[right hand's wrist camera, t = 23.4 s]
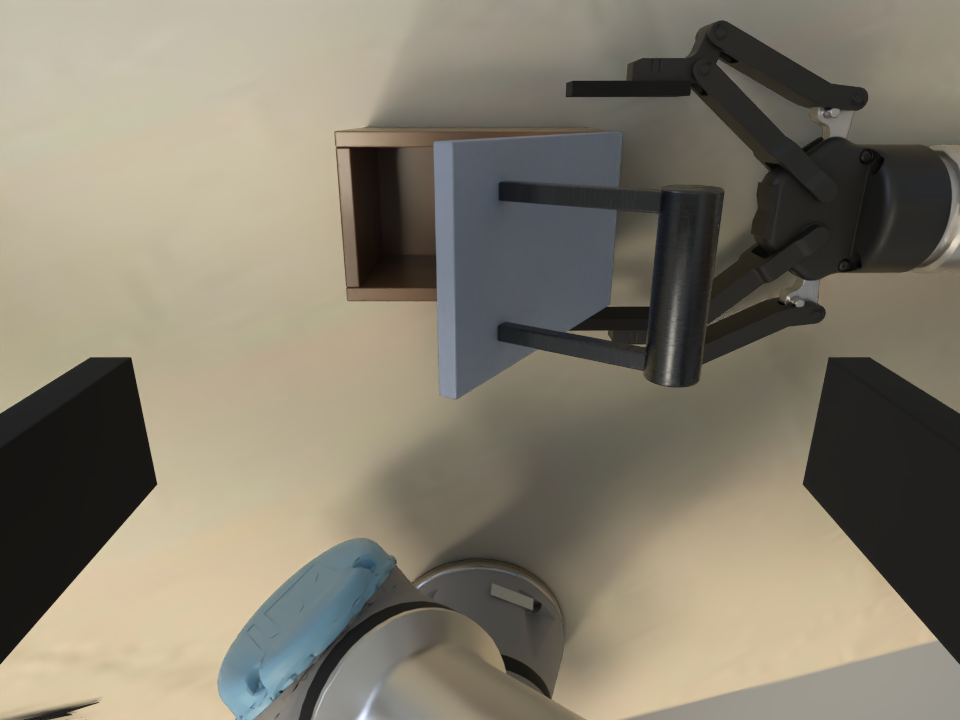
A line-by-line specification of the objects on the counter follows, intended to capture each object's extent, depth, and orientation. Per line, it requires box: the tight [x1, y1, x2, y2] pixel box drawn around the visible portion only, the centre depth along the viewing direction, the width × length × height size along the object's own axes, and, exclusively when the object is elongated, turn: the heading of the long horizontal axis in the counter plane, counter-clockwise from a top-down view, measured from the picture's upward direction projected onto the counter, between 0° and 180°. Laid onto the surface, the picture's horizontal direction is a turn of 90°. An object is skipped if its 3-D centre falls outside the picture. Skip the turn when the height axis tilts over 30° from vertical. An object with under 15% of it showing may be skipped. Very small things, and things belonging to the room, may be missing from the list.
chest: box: [334, 127, 613, 301], centre depth 41 cm, size 15×9×10 cm, turn 90°
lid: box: [434, 132, 724, 399], centre depth 27 cm, size 16×9×9 cm
